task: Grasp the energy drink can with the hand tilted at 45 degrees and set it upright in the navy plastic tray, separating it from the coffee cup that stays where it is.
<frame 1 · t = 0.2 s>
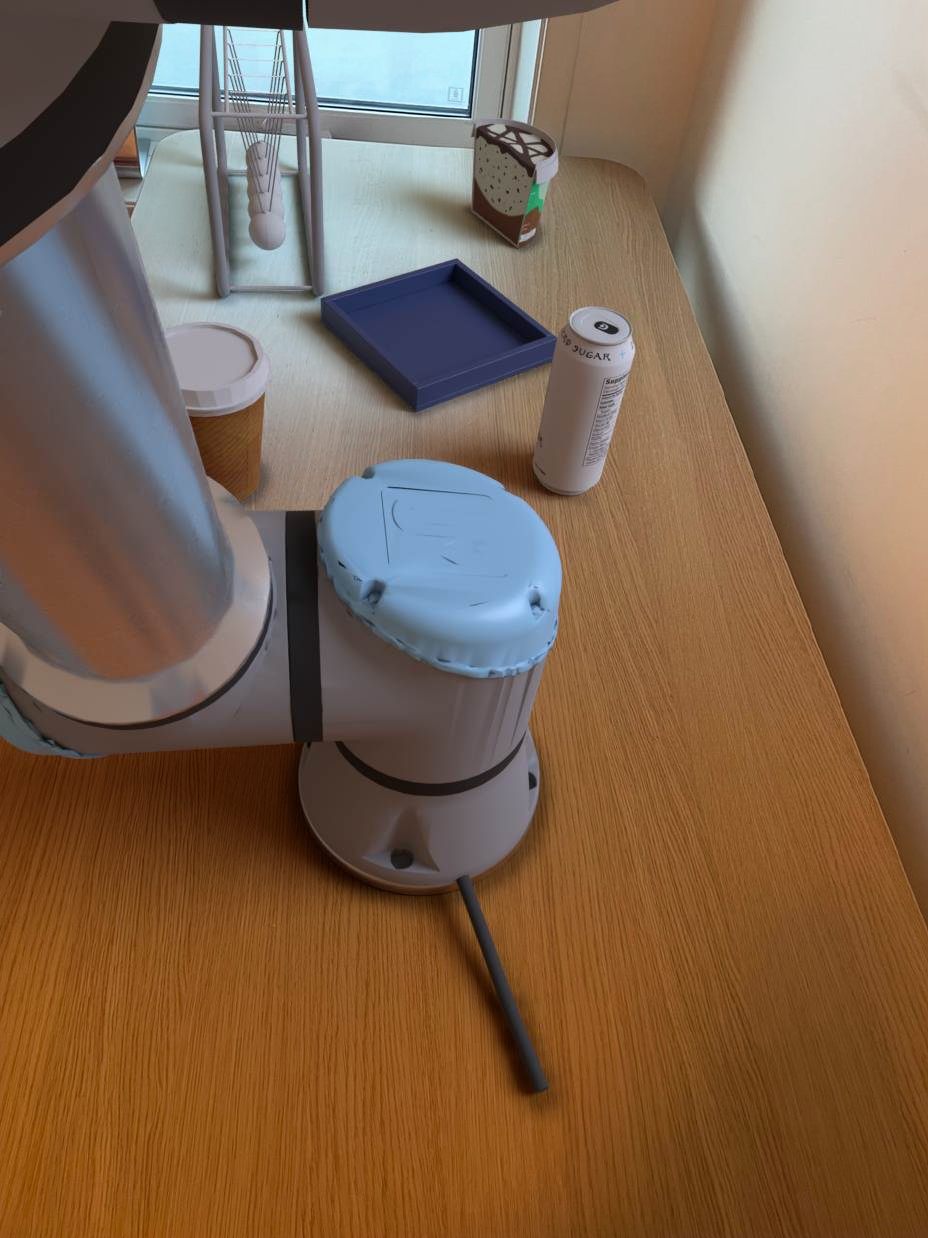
energy drink can: (564, 477, 82), on the table
food container: (514, 225, 110), on the table
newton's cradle: (267, 232, 103), on the table
disposable coffee cup: (220, 481, 77), on the table
navy tray: (436, 341, 93), on the table
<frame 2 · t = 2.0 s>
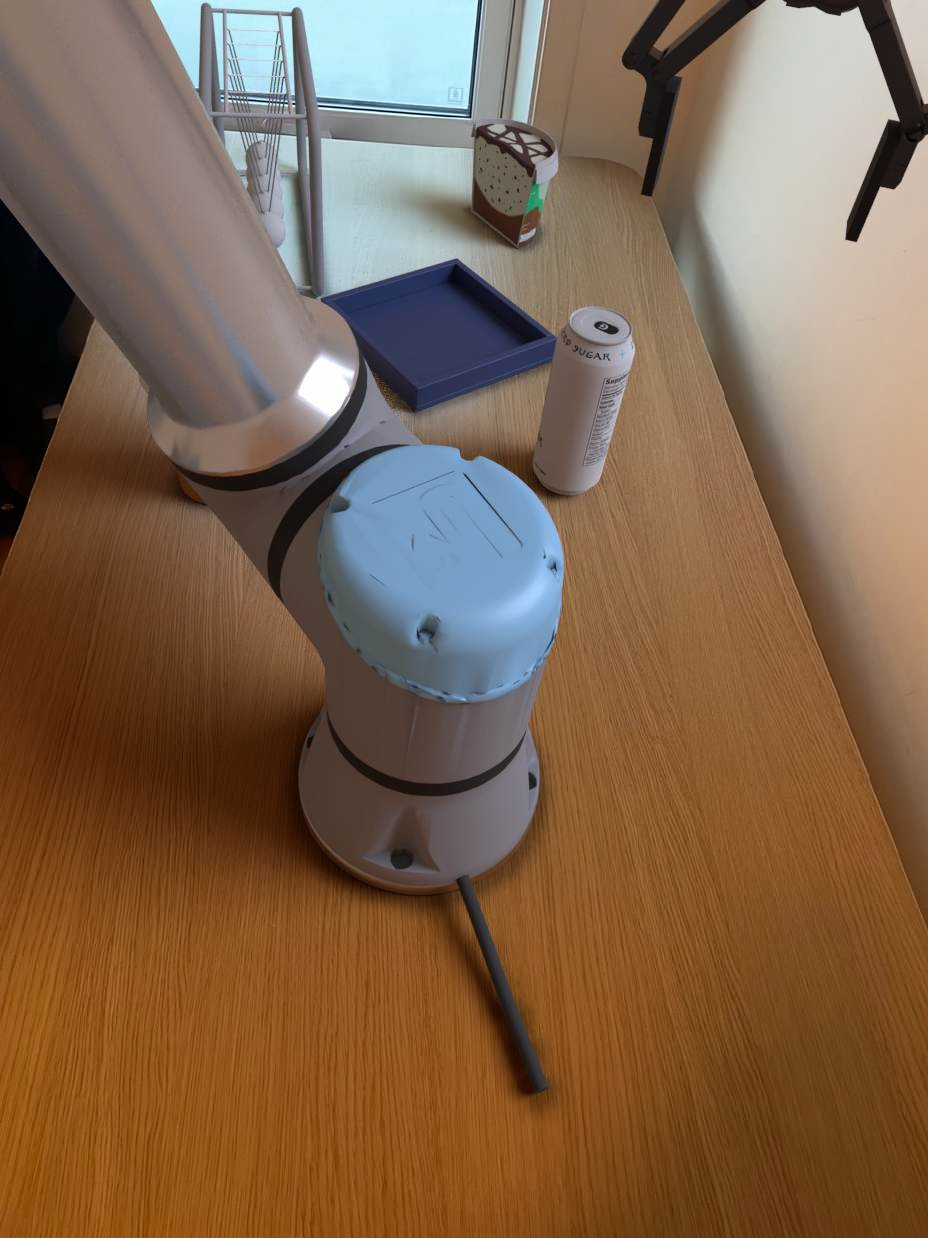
hand: (749, 209, 63), 25 cm above the table, tool pointing down, fingers open, 13 cm apart
nothing on the table moved.
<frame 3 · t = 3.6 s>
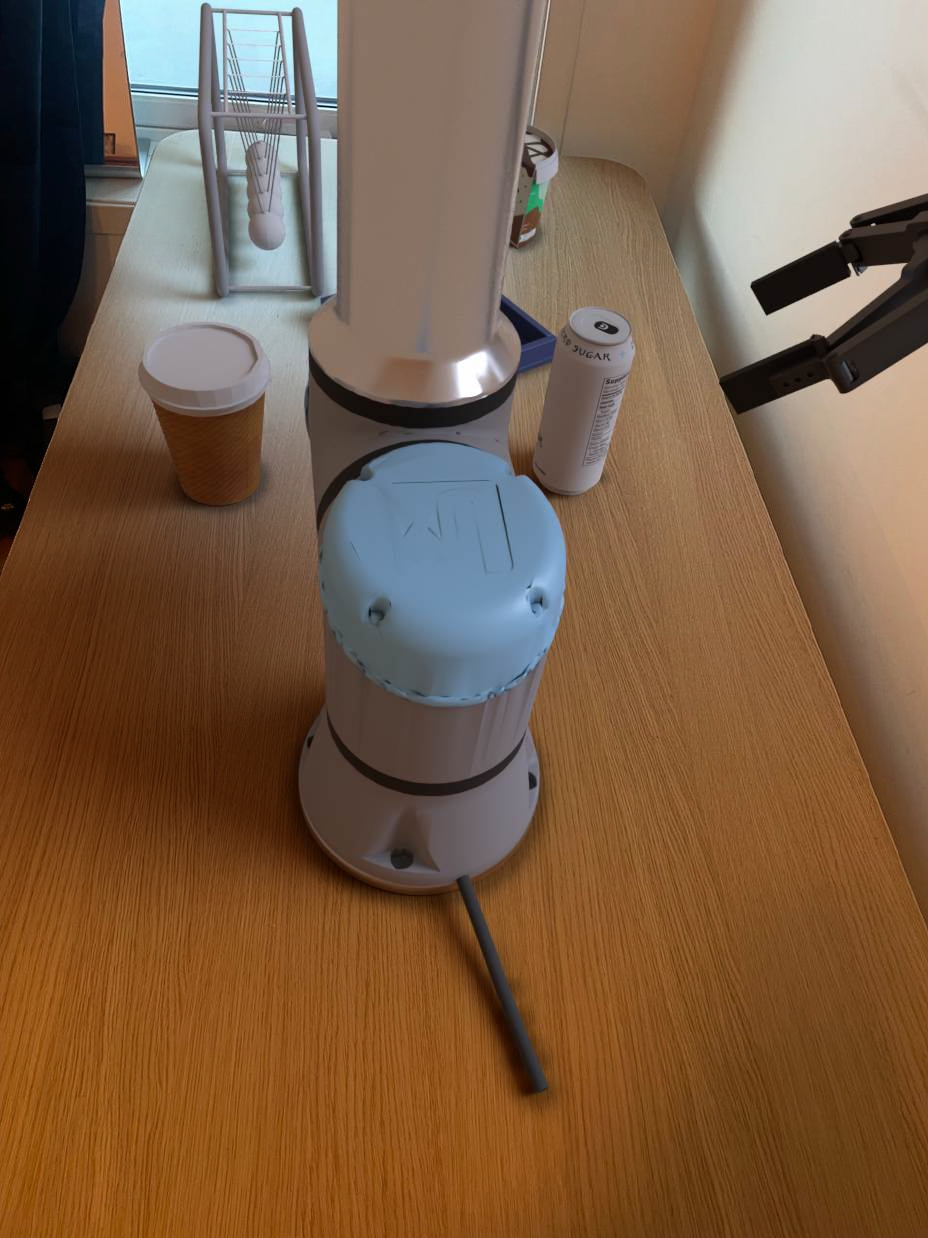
hand: (744, 344, 67), 17 cm above the table, tool tilted 45°, fingers open, 13 cm apart
nothing on the table moved.
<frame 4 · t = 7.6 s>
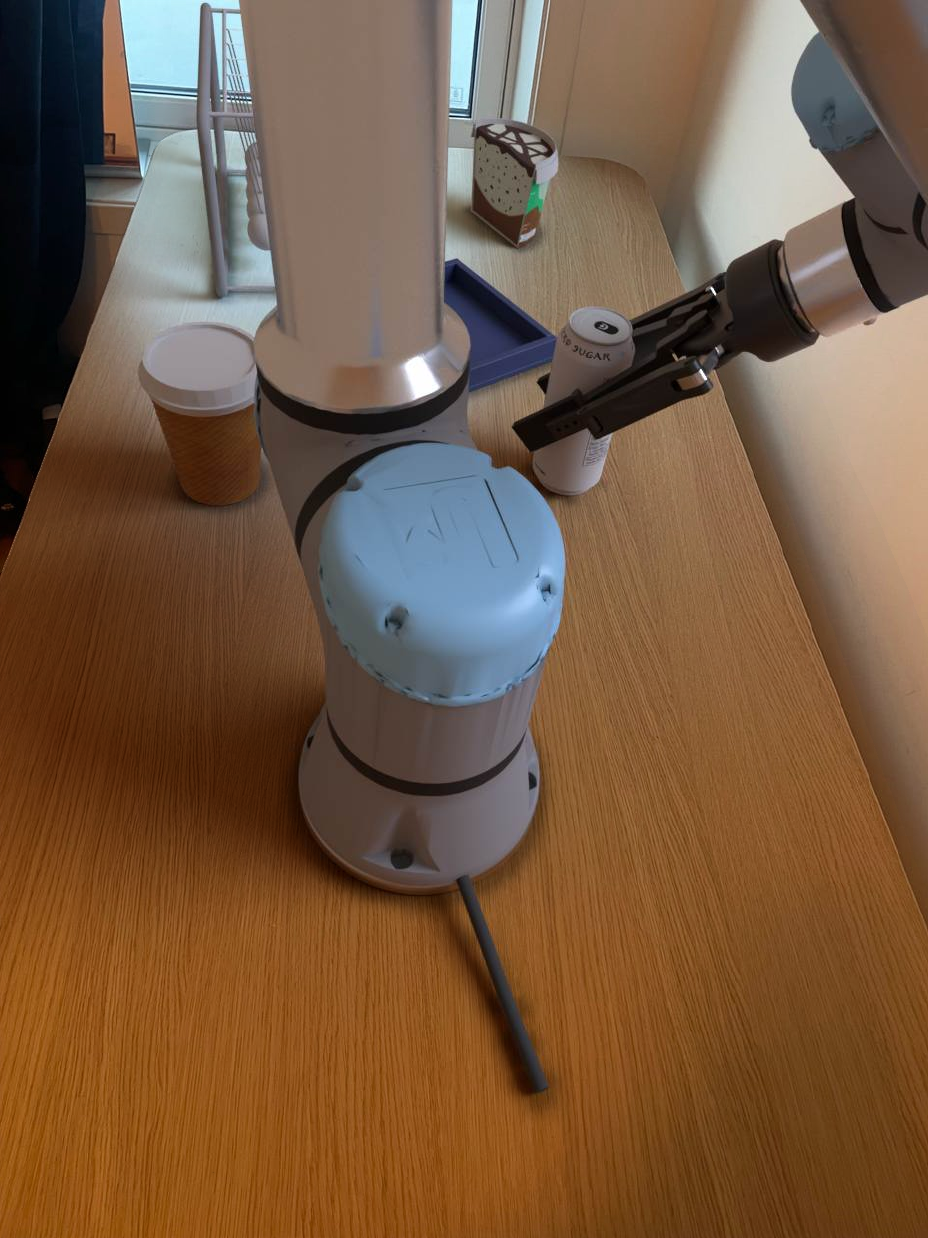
hand: (535, 414, 78), 5 cm above the table, tool tilted 45°, fingers closed on energy drink can, 6 cm apart
energy drink can: (564, 477, 82), on the table, touching gripper
everything else where it was.
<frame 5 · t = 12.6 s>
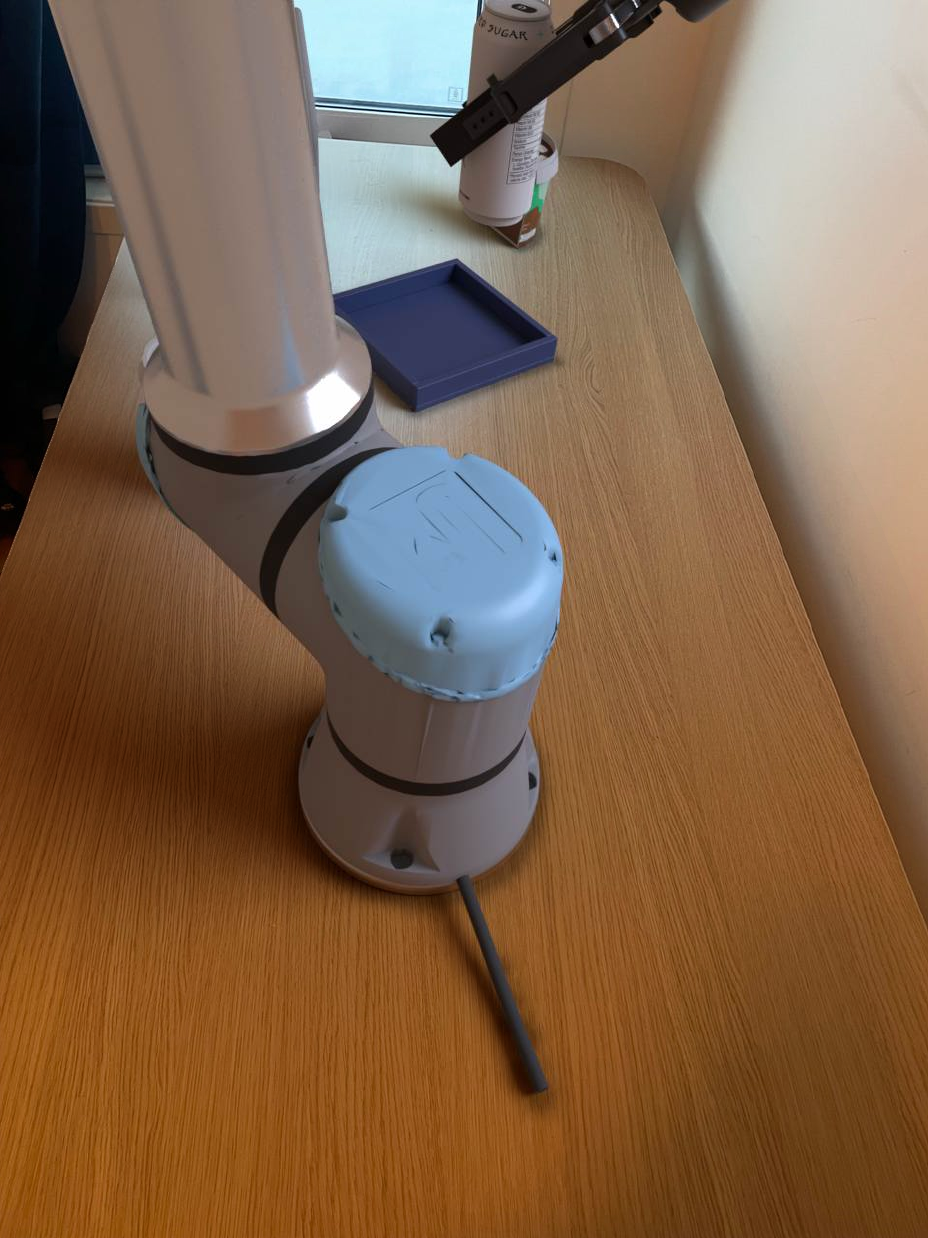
hand: (458, 133, 74), 21 cm above the table, tool tilted 45°, fingers closed on energy drink can, 6 cm apart
energy drink can: (493, 213, 78), point 16 cm above the table, touching gripper
everything else where it was.
when the fingers open (6 cm above the table, at t = 17.9 s): energy drink can stays where it is, resting on navy tray.
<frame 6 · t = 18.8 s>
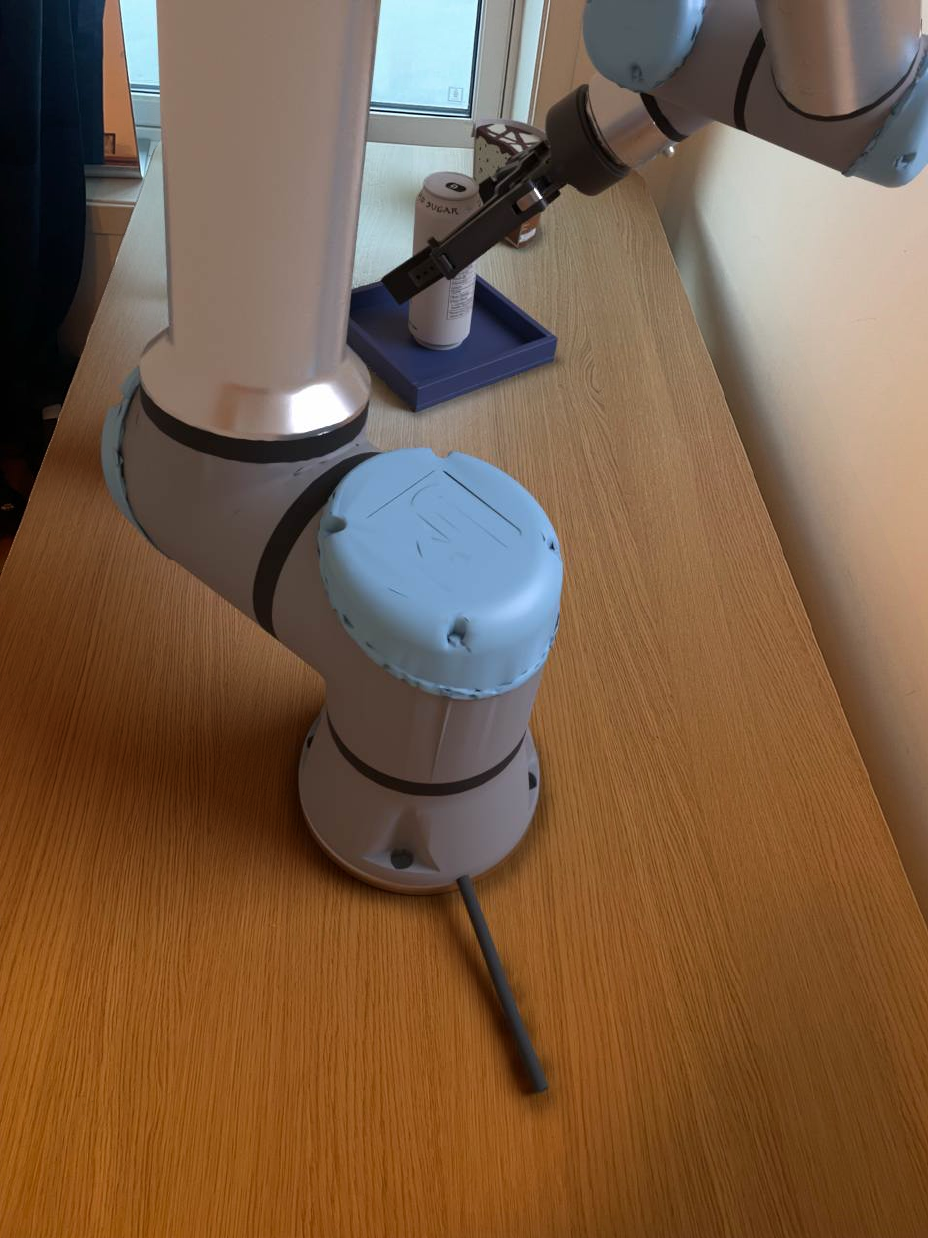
hand: (420, 256, 87), 8 cm above the table, tool tilted 45°, fingers open, 13 cm apart
energy drink can: (438, 337, 92), resting on navy tray
everything else where it was.
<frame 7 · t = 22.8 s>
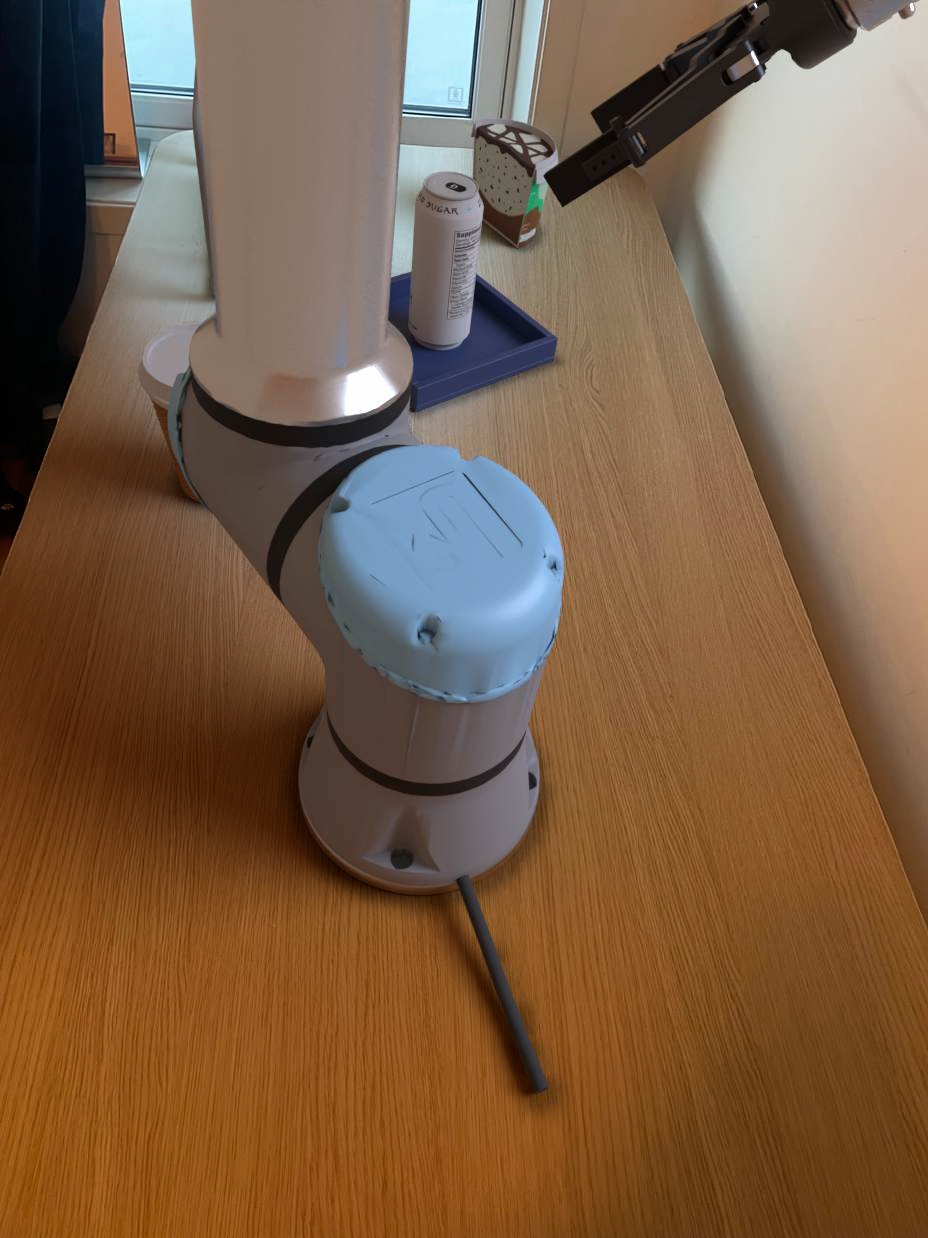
hand: (577, 156, 75), 21 cm above the table, tool tilted 45°, fingers open, 13 cm apart
nothing on the table moved.
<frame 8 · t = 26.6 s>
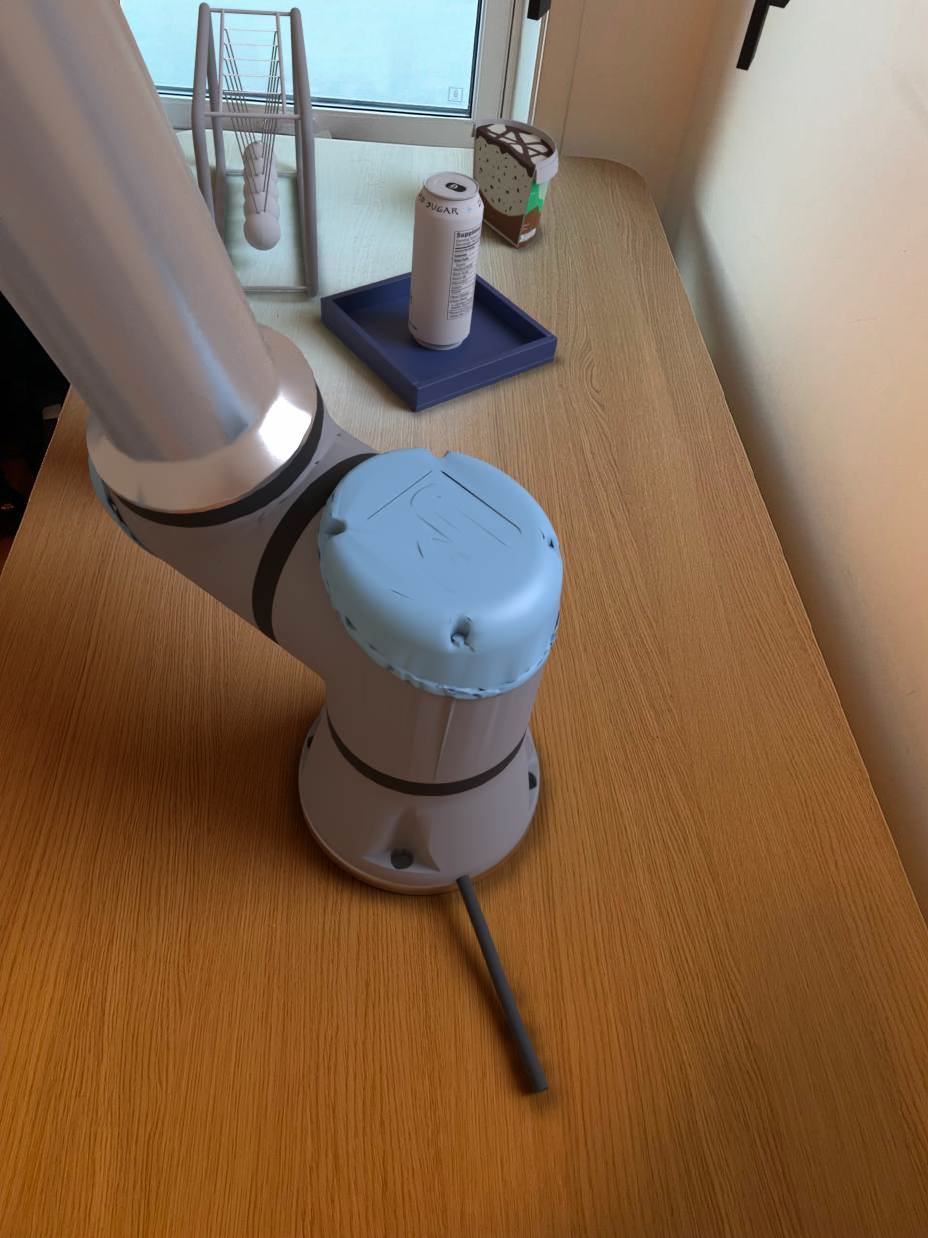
hand: (639, 38, 59), 33 cm above the table, tool pointing down, fingers open, 13 cm apart
nothing on the table moved.
at the end: energy drink can inside the target area in the navy tray (0.1 cm from its centre), point 0.4 cm above the navy tray's base; energy drink can tilted 0°; disposable coffee cup moved 0.2 cm from its start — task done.
